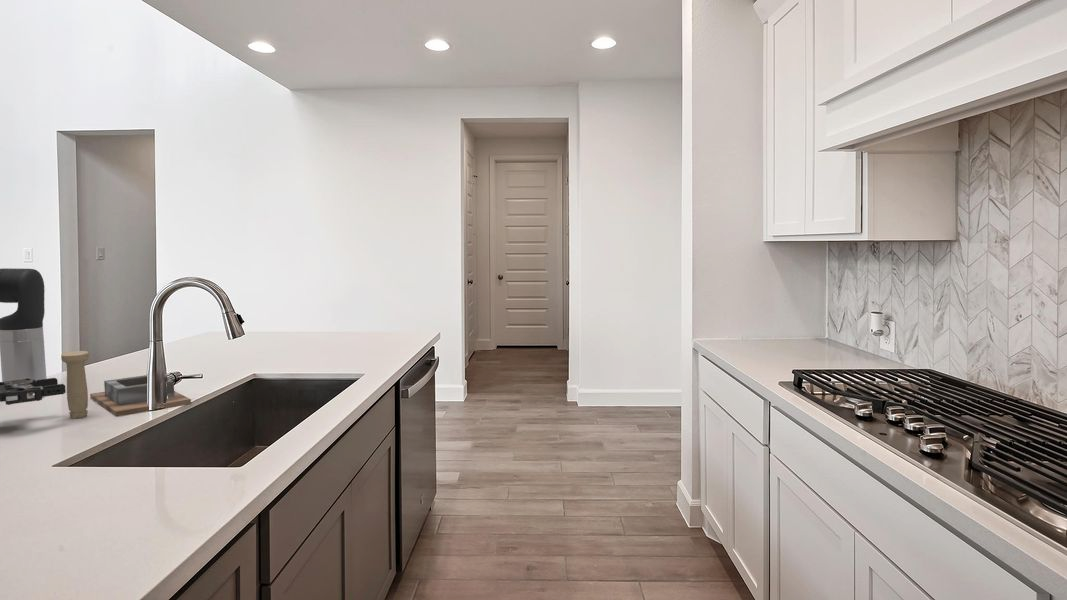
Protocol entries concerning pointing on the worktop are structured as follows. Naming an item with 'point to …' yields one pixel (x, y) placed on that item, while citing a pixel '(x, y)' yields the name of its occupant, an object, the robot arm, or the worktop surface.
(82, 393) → the handle
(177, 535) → the worktop surface
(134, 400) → the wooden base with tray
